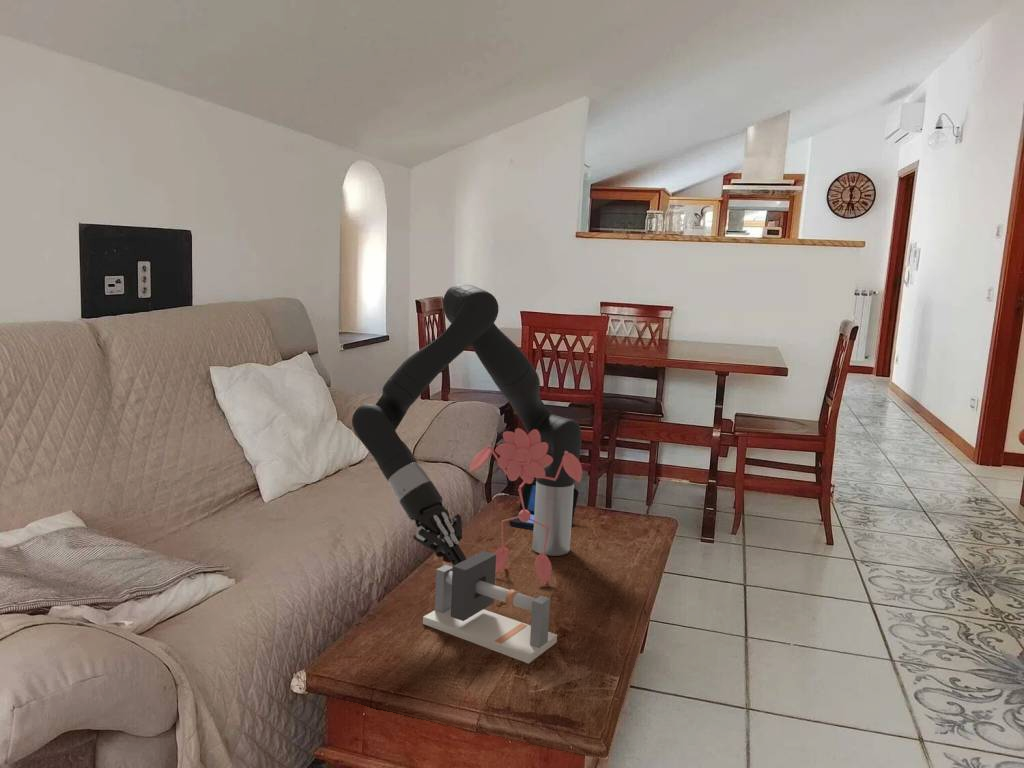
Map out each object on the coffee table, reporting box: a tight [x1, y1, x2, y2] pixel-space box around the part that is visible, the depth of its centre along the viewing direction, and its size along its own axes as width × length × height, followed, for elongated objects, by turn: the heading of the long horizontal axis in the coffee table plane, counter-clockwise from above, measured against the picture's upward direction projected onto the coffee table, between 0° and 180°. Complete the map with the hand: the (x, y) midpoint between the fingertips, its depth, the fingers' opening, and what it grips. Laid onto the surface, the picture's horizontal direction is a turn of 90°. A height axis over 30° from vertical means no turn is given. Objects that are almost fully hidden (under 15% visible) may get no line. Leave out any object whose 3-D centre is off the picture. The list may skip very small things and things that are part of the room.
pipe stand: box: [422, 565, 558, 665], centre depth 150 cm, size 10×24×10 cm, turn 57°
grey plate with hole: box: [451, 550, 496, 621], centre depth 152 cm, size 10×3×10 cm, turn 147°
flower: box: [469, 427, 583, 598], centre depth 171 cm, size 15×26×35 cm, turn 72°
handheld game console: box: [508, 481, 579, 530], centre depth 214 cm, size 16×13×9 cm
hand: (462, 565), depth 153 cm, fingers closed
